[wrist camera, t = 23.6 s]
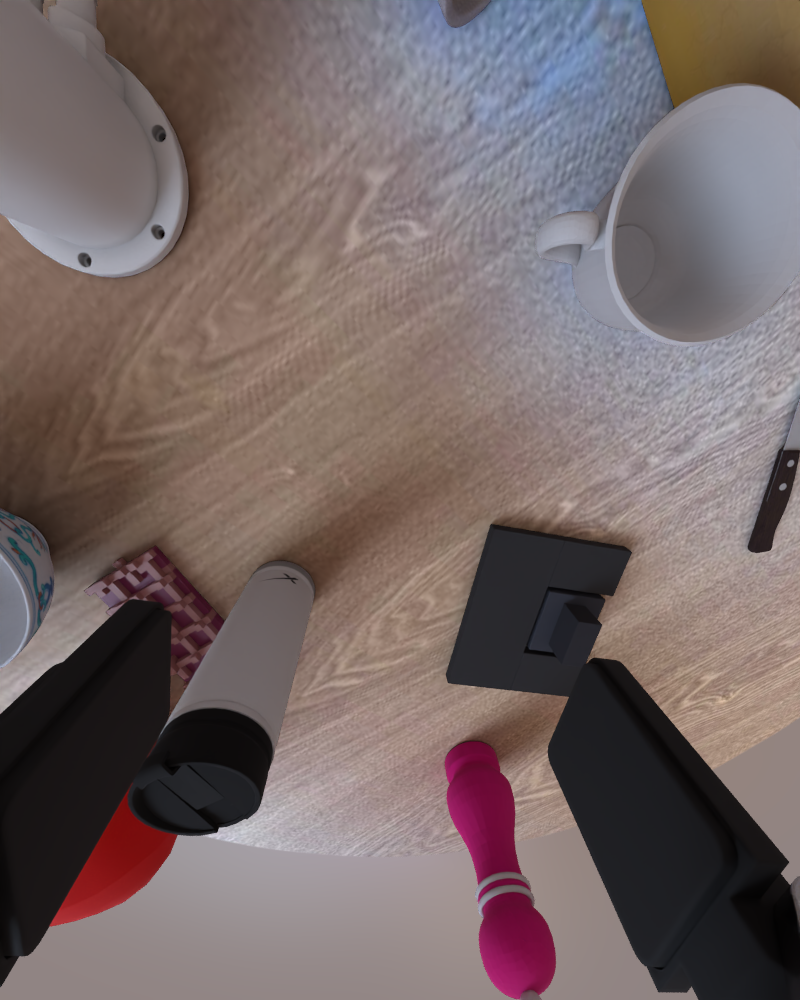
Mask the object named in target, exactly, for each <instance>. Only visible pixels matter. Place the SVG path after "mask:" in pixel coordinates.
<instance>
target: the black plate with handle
mask: <svg viewBox="0 0 800 1000" xmlns="http://www.w3.org/2000/svg"><path fill="white" fill-rule="evenodd" d="M604 603H605V599H604V598H603V597H602V596H601V595H600V594H596V593H589V592H583V591H576V590H569V589H563V588H556V587H549V586H548V588H547V591H546V593H545V596H544V599H543V601H542V604H541V607H540V610H539V612H538V615H537V618H536V620H535V623H534V626H533V629H532V631H531V634H530V637H529V640H528V642H527V646H528V648H529V649H530V650H538V651H546V652H554V654H555V655H556V657H557V658H558V660H559V662H560V663H561V664H562V665H568V666H576V667H583V665H584V664H586V661H587V659H588V657H589V655H590V652H591V650H592V648H593V645H594V643H595V641H596V638H597V636H598V634H599V631H600V629H601V627H602V624H601V623H600V622H599V621H598V620H597V619H598V617H599V614H600V612H601V610H602V607H603V605H604Z"/></svg>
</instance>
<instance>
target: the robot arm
mask: <svg viewBox="0 0 800 1000" xmlns="http://www.w3.org/2000/svg"><path fill="white" fill-rule="evenodd" d="M43 3H44V0H0V214H1V215H3V216H6V217H7V219H8V220H9V222H10V223H11V224H12V225H13V226H14V227H15V228H16V229H17V231H18V232H19V233H20V234H21V235H22V236H23V237H24V238H25V239H26V240H27V241H28V242H29V243H31V244H32V245H33V246H35V247H36V248H37V249H38V250H40V251H41V252H42V253H43V254H45V255H47V256H48V257H50V258H52V259H54V260H55V261H57V262H59V263H61V264H62V265H65V266H67V267H70V268H73V269H75V270H78V271H81V272H84V273H88V274H92V275H95V276H100V277H113V278H118V277H125V276H133V275H135V274H138V273H141V272H143V271H146V270H148V269H150V268H151V267H153V266H154V265H156V264H157V263H159V262H160V261H162V260H163V258H164V257H165V256H166V255H167V254H168V253H169V252H170V251H171V250H172V249H173V247H174V245H175V243H176V242H177V240H178V238H179V236H180V234H181V232H182V229H183V226H184V223H185V219H186V216H187V208H188V200H189V189H188V174H187V169H186V165H185V160H184V156H183V152H182V149H181V147H180V144H179V141H178V139H177V136H176V134H175V131H174V129H173V127H172V126H171V124H170V122H169V120H168V118H167V117H166V115H165V113H164V111H163V110H162V108H161V107H160V106H159V104H158V103H157V102H156V100H155V99H154V98H153V96H152V95H151V94H150V92H149V91H148V90H147V89H146V88H145V87H144V86H143V85H142V83H141V82H140V81H139V80H138V79H137V78H136V77H135V76H134V74H133V73H132V72H130V71H129V70H128V69H127V68H126V67H124V66H123V65H122V64H121V63H120V62H118V61H117V60H116V59H115V58H114V57H112V56H110V55H108V54H107V53H105V39H104V37H103V36H102V34H101V33H100V32H99V31H98V30H97V25H96V6H98V4H97V0H56V6H50V7H49V8H48V20H47V19H46V18H45V17H44V16H43ZM164 137H166V138H165V140H164V141H163V142H162V140H163V138H164ZM163 232H165V236H164V237H163V238H162V236H161V235H162V233H163ZM91 260H92V263H91ZM171 628H172V615H171V612H170V611H166V610H164V606H163V604H162V603H161V602H154V601H146V600H138V599H130V600H128V601H127V602H126V603H124V604H123V605H122V606H121V607H120V608H119V609H118V610H117V611H116V612H115V613H114V614H113V615H112V616H111V617H110V618H109V619H108V620H107V621H106V622H105V623H104V624H103V625H101V626H100V627H99V628H98V629H97V630H96V631H95V632H94V633H93V634H92V635H91V636H90V637H89V638H88V639H87V640H86V641H85V642H84V643H83V644H82V645H81V646H80V647H78V648H77V649H76V650H75V651H74V652H73V653H72V654H71V655H70V656H69V657H68V658H67V659H66V660H65V661H64V662H62V663H59V664H57V665H54V666H53V667H52V668H50V669H49V670H48V671H46V672H45V673H44V674H43V675H42V676H41V677H40V678H39V679H38V680H37V681H35V682H34V683H33V684H32V685H31V686H30V687H29V688H28V689H27V690H26V691H25V692H24V693H23V694H22V695H20V696H19V697H18V698H17V699H16V700H15V701H14V702H13V703H12V704H11V705H10V706H9V707H8V708H7V709H6V710H4V711H3V712H2V713H1V714H0V987H1V986H2V984H3V983H4V981H5V979H6V978H7V976H8V974H9V972H10V971H11V969H12V968H13V966H14V964H15V963H16V961H17V959H18V957H19V956H28V955H29V954H31V952H33V951H34V949H35V948H36V947H37V945H38V944H39V943H40V941H41V939H42V938H43V936H44V934H45V933H46V931H47V929H48V928H49V926H50V924H51V923H52V921H53V919H54V917H55V916H56V914H57V912H58V910H59V909H60V907H61V905H62V903H63V902H64V900H65V898H66V897H67V895H68V893H69V891H70V890H71V888H72V886H73V884H74V883H75V881H76V879H77V878H78V876H79V874H80V872H81V871H82V869H83V867H84V865H85V864H86V862H87V860H88V858H89V857H90V855H91V853H92V852H93V850H94V848H95V846H96V845H97V843H98V841H99V839H100V838H101V836H102V834H103V832H104V831H105V829H106V827H107V826H108V824H109V822H110V820H111V819H112V817H113V815H114V813H115V812H116V810H117V808H118V807H119V805H120V803H121V801H122V800H123V798H124V796H125V794H126V793H127V791H128V789H129V787H130V786H131V784H132V782H133V781H134V779H135V777H136V775H137V774H138V772H139V770H140V768H141V767H142V765H143V763H144V761H145V760H146V758H147V756H148V755H149V753H150V751H151V749H152V748H153V746H154V744H155V742H156V741H157V739H158V737H159V736H160V734H161V732H162V730H163V728H164V726H165V724H166V722H167V719H168V715H169V710H170V672H171ZM548 758H549V762H550V764H551V767H552V769H553V771H554V773H555V776H556V778H557V780H558V782H559V785H560V787H561V789H562V791H563V794H564V796H565V798H566V800H567V803H568V805H569V807H570V809H571V812H572V814H573V816H574V818H575V820H576V823H577V825H578V827H579V829H580V831H581V834H582V836H583V838H584V841H585V843H586V845H587V847H588V850H589V851H590V854H591V856H592V859H593V861H594V863H595V865H596V867H597V870H598V872H599V874H600V876H601V878H602V881H603V883H604V885H605V888H606V890H607V892H608V894H609V897H610V899H611V901H612V903H613V905H614V908H615V910H616V912H617V914H618V917H619V919H620V921H621V923H622V925H623V928H624V930H625V932H626V935H627V937H628V939H629V941H630V944H631V946H632V948H633V950H634V952H635V954H636V956H637V957H638V959H639V960H640V962H641V963H642V964H644V965H645V966H647V968H648V970H649V973H650V975H651V977H652V979H653V981H654V984H655V986H656V988H657V990H658V992H687V991H688V990H689V989H690V988H691V986H692V988H693V990H694V992H695V994H696V996H697V997H698V1000H800V877H797V878H796V879H795V880H794V881H793V883H792V884H791V885H789V884H788V882H787V881H786V880H785V878H784V877H783V876H782V875H781V872H782V871H783V870H784V868H785V867H786V866H787V864H788V863H789V861H788V860H787V859H786V858H785V857H784V855H783V854H782V853H781V852H780V851H779V849H778V848H777V847H776V846H775V845H774V843H773V842H772V841H771V840H770V839H769V838H768V836H767V835H766V834H765V833H764V831H763V830H762V829H761V828H760V827H759V826H758V824H757V823H756V822H755V821H754V820H753V818H752V817H751V816H750V815H749V814H748V812H747V811H746V810H745V809H744V808H743V807H742V805H741V804H740V803H739V802H738V800H737V799H736V798H735V797H734V796H733V795H732V793H731V792H730V791H729V790H728V789H727V787H726V786H725V785H724V784H723V783H722V781H721V780H720V779H719V778H718V777H717V775H716V774H715V773H714V772H713V771H712V770H711V768H710V767H709V766H708V765H707V764H706V762H705V761H704V760H703V759H702V758H701V756H700V755H699V754H698V753H697V752H696V750H695V749H694V748H693V747H692V746H691V745H690V743H689V742H688V741H687V740H686V739H685V737H684V736H683V735H682V734H681V733H680V731H679V730H678V729H677V728H676V727H675V725H674V724H673V723H672V722H671V721H670V720H669V718H668V717H667V716H666V715H665V714H664V712H663V711H662V710H661V709H660V708H659V706H658V705H657V704H656V703H655V702H654V700H653V699H652V698H651V697H650V696H649V695H648V693H647V692H646V691H645V690H644V689H643V687H642V686H641V685H640V684H639V683H638V681H637V680H636V679H635V678H634V677H633V675H632V674H631V673H630V672H629V671H628V670H627V668H626V667H625V666H624V665H623V664H622V663H621V662H619V661H617V660H609V659H602V658H592V659H591V660H590V661H589V662H588V663H586V664H584V665H583V667H582V669H581V671H580V673H579V675H578V678H577V680H576V682H575V685H574V687H573V689H572V692H571V694H570V696H569V699H568V701H567V703H566V706H565V708H564V710H563V713H562V715H561V717H560V720H559V722H558V724H557V727H556V729H555V731H554V734H553V736H552V738H551V741H550V743H549V746H548Z"/></svg>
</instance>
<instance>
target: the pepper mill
mask: <svg viewBox="0 0 800 1000" xmlns="http://www.w3.org/2000/svg"><path fill="white" fill-rule="evenodd" d="M445 769H446V774H447V779H448V782H449V783H450V785H449V787H448V790H447V804H448V808H449V812H450V816H451V818H452V820H453V822H454V825H455V827H456V828H457V830H458V832H459V833H460V835H461V837H462V838H463V840H464V842H465V844H466V845H467V847H468V849H469V852H470V854H471V857H472V860H473V863H474V866H475V870H476V874H477V881H478V887H477V889H476V893H475V896H476V899H477V901H478V911H479V914H480V915H481V917H482V918H483V921H482V924H481V927H480V931H479V946H480V953H481V957H482V960H483V964H484V967H485V970H486V972H487V974H488V976H489V977H490V979H491V981H492V982H493V984H494V985H495V986H496V987H497V988H498V989H499V990H500V991H501V992H502V993H504V994H505V995H507V996H509V997H512V998H515V999H520V1000H541V998H540V996H539V995H540V994H541V993H542V992H544V991H545V989H547V987H548V986H549V985H550V983H551V981H552V979H553V976H554V973H555V968H556V956H555V947H554V943H553V938H552V935H551V932H550V930H549V927H548V925H547V923H546V921H545V919H544V918H543V917H542V915H541V914H540V913H539V912H538V911H537V910H536V909H535V908H534V907H533V906H534V896H533V894H532V893H531V890H530V889H531V887H530V883H529V881H528V880H527V878H526V877H524V876H523V875H522V873H521V870H520V868H519V865H518V860H517V855H516V850H515V840H514V827H515V804H514V797H513V793H512V789H511V786H510V783H509V781H508V780H507V779H506V777H505V776H504V775H503V774H502V773H500V766H499V762H498V759H497V756H496V753H495V751H494V750H493V748H491V747H490V746H489V745H487V744H485V743H482V742H479V741H470V742H465V743H462V744H459V745H457V746H456V747H454V748H453V749H452V750H451V751H450V752H449V753H448V755H447V757H446V759H445Z"/></svg>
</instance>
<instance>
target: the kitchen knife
mask: <svg viewBox="0 0 800 1000" xmlns="http://www.w3.org/2000/svg"><path fill="white" fill-rule="evenodd" d="M799 454H800V399H799V402H798V405H797V408H796V411H795V415H794V418H793V421H792V424H791V427H790V430H789V434H788V437H787V440H786V443H785V446H784V449H780V450H779V452H778V455H777V459H776V462H775V465H774V468H773V471H772V474H771V477H770V480H769V484H768V487H767V490H766V493H765V496H764V499H763V502H762V505H761V508H760V511H759V514H758V517H757V521H756V524H755V527H754V530H753V533H752V536H751V539H750V542H749V545H748V549H749V550H750V551H751V552H754V553H760V552H766V551H770V550H771V548H772V543H773V537H774V533H775V530H776V528H777V526H778V523H779V521H780V519H781V517H782V515H783V513H784V511H785V508H786V506H787V503H788V500H789V497H790V494H791V490H792V486H793V482H794V479H795V474H796V469H797V465H798V460H799Z"/></svg>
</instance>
